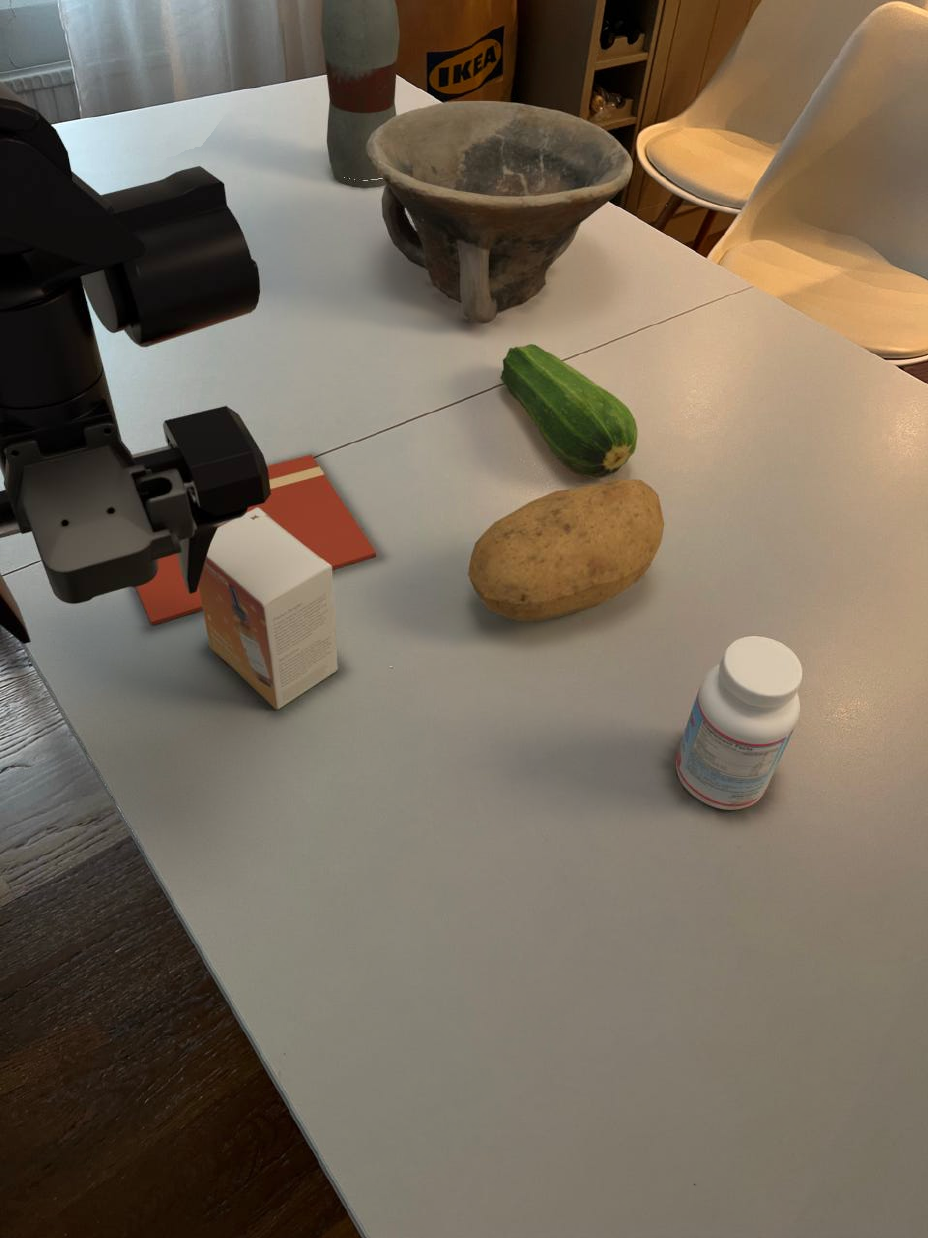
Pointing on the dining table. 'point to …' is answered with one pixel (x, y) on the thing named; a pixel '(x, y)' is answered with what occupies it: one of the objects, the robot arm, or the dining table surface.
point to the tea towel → (295, 506)
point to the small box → (269, 607)
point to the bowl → (492, 194)
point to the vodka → (358, 81)
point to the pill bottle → (740, 723)
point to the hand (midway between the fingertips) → (110, 612)
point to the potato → (568, 550)
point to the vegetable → (571, 412)
